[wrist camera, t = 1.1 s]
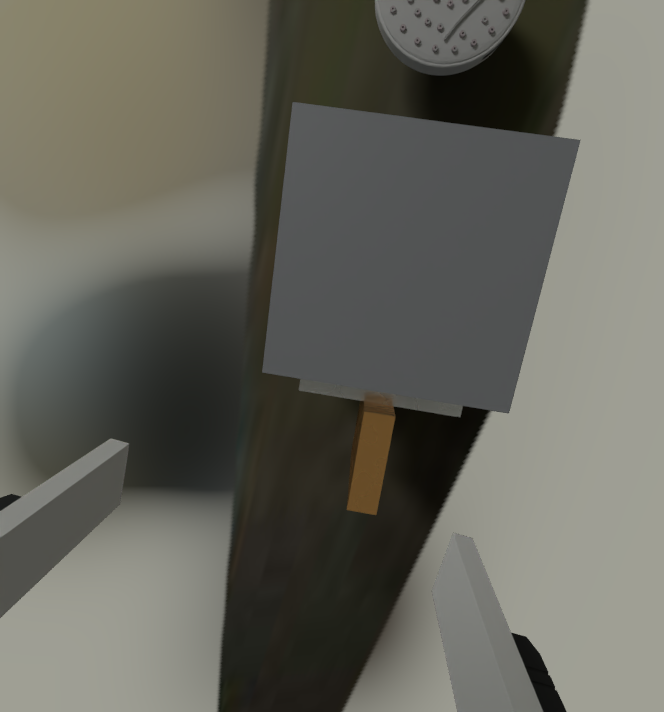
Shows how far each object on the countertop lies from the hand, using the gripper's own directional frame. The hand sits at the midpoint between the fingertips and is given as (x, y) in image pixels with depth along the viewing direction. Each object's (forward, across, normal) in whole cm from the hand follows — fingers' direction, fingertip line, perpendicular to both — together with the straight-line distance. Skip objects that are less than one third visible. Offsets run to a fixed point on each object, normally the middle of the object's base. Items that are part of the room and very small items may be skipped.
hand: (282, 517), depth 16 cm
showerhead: (+22, +1, +28) cm, 36 cm away
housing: (+22, +3, +11) cm, 25 cm away
